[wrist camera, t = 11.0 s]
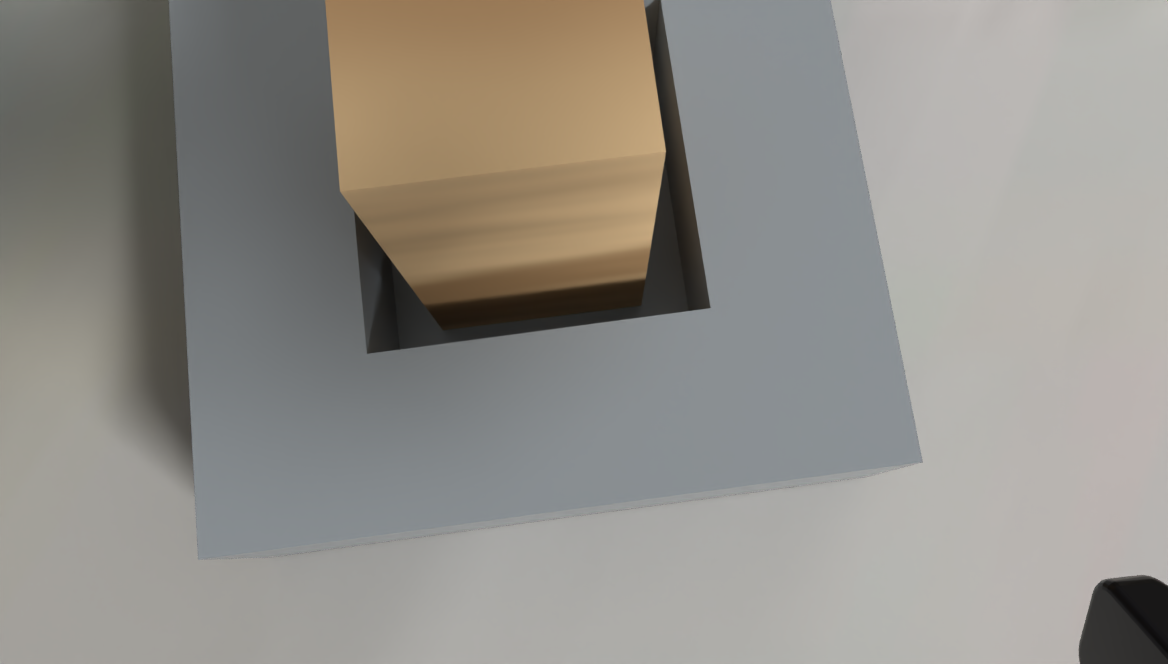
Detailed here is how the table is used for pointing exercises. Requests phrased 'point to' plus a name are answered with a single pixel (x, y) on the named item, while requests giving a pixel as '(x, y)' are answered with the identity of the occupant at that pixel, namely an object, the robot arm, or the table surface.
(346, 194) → the peg
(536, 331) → the socket
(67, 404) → the table surface
